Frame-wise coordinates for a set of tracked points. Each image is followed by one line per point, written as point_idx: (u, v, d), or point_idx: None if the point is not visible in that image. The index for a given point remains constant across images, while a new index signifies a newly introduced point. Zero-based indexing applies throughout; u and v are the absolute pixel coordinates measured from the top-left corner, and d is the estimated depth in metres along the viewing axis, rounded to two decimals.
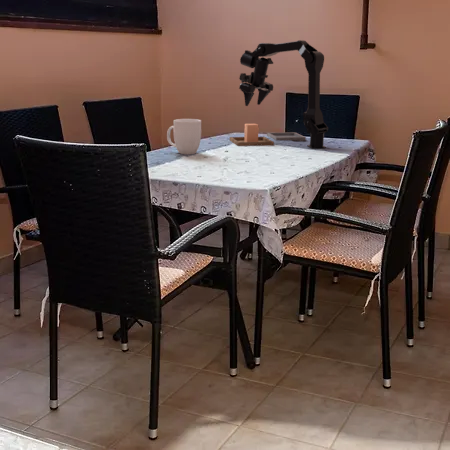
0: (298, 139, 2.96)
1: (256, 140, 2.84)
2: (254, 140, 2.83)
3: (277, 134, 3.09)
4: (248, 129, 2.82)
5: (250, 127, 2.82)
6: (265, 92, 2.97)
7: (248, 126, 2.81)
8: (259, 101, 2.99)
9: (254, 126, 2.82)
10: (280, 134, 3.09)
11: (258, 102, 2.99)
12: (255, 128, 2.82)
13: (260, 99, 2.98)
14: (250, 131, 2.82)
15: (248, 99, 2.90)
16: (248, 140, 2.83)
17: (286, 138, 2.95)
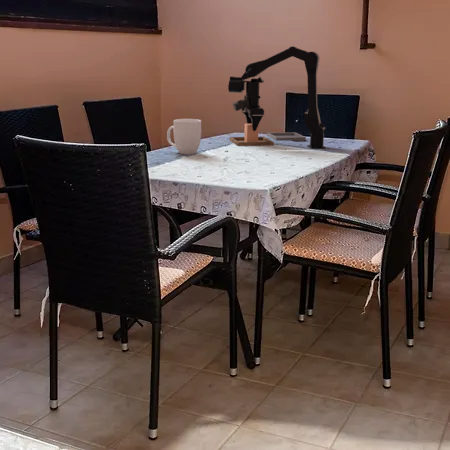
0: (298, 139, 2.96)
1: (256, 140, 2.84)
2: (254, 140, 2.83)
3: (277, 134, 3.09)
4: (248, 129, 2.82)
5: (250, 127, 2.82)
6: None
7: (248, 126, 2.81)
8: None
9: None
10: (280, 134, 3.09)
11: None
12: None
13: (251, 122, 2.88)
14: (250, 131, 2.82)
15: (257, 123, 2.78)
16: (248, 140, 2.83)
17: (286, 138, 2.95)
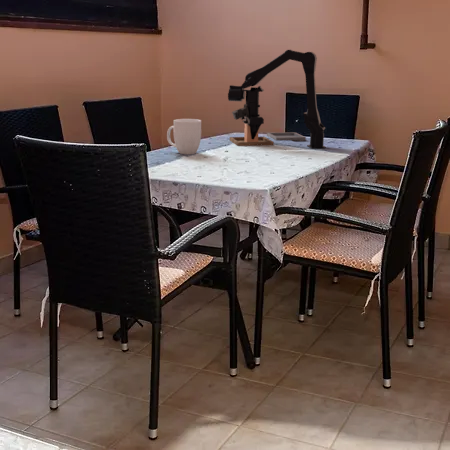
0: (298, 139, 2.96)
1: (256, 140, 2.84)
2: (254, 140, 2.83)
3: (277, 134, 3.09)
4: (248, 129, 2.82)
5: None
6: None
7: (248, 126, 2.81)
8: None
9: None
10: (280, 134, 3.09)
11: None
12: None
13: None
14: None
15: (256, 131, 2.81)
16: (248, 140, 2.83)
17: (286, 138, 2.95)
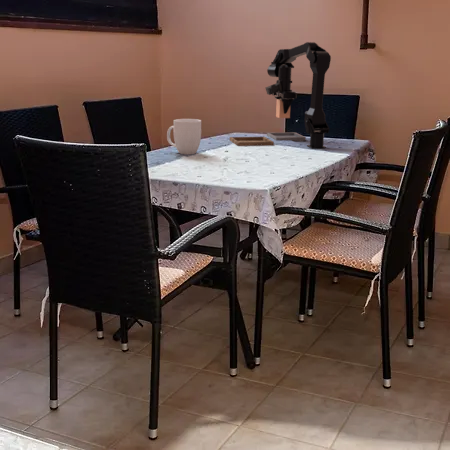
0: (298, 139, 2.96)
1: (288, 115, 2.96)
2: (286, 115, 2.96)
3: (277, 134, 3.09)
4: (281, 104, 2.94)
5: (282, 102, 2.94)
6: None
7: (281, 101, 2.94)
8: None
9: None
10: (280, 134, 3.09)
11: None
12: None
13: None
14: None
15: (288, 106, 2.94)
16: (280, 115, 2.96)
17: (286, 138, 2.95)
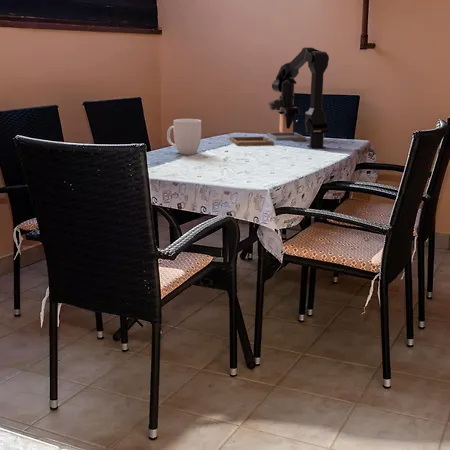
0: (298, 139, 2.96)
1: (291, 129, 3.00)
2: (289, 129, 3.00)
3: (277, 134, 3.09)
4: (284, 119, 2.98)
5: (285, 117, 2.98)
6: None
7: (284, 116, 2.98)
8: None
9: None
10: (280, 134, 3.09)
11: None
12: None
13: None
14: None
15: (291, 121, 2.97)
16: (283, 129, 2.99)
17: (286, 138, 2.95)
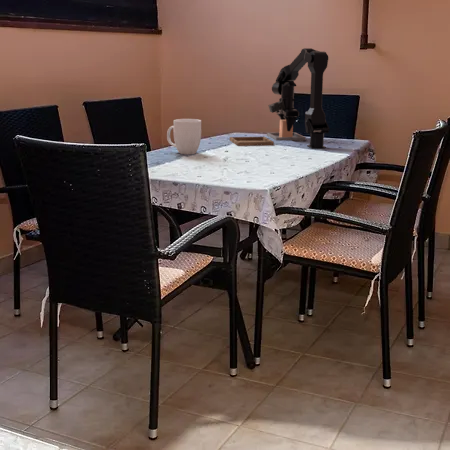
0: (298, 139, 2.96)
1: (291, 135, 3.01)
2: (289, 135, 3.00)
3: (277, 134, 3.09)
4: (283, 125, 2.99)
5: (285, 123, 2.99)
6: None
7: (283, 122, 2.98)
8: None
9: None
10: None
11: None
12: None
13: None
14: (285, 127, 2.99)
15: (292, 124, 2.97)
16: (283, 135, 3.00)
17: (286, 138, 2.95)
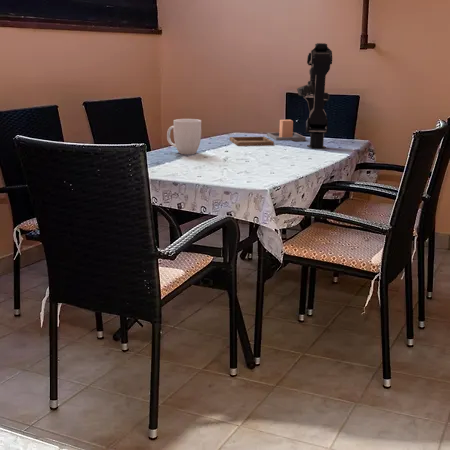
0: (298, 139, 2.96)
1: (291, 135, 3.01)
2: (289, 135, 3.00)
3: (277, 134, 3.09)
4: (283, 125, 2.99)
5: (285, 123, 2.99)
6: None
7: (283, 122, 2.98)
8: (312, 109, 3.02)
9: (289, 122, 2.99)
10: None
11: (311, 110, 3.02)
12: (290, 124, 2.99)
13: (312, 107, 3.02)
14: (285, 127, 2.99)
15: None
16: (283, 135, 3.00)
17: (286, 138, 2.95)
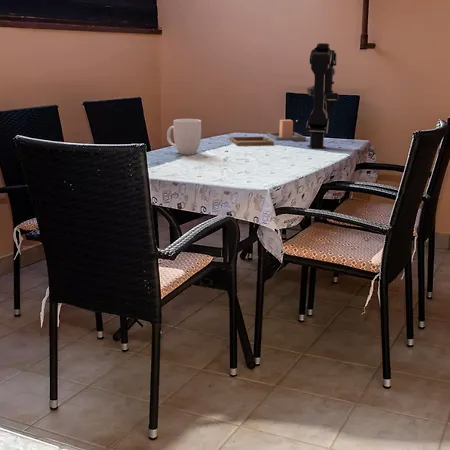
0: (298, 139, 2.96)
1: (291, 135, 3.01)
2: (289, 135, 3.00)
3: (277, 134, 3.09)
4: (283, 125, 2.99)
5: (285, 123, 2.99)
6: (325, 98, 3.01)
7: (283, 122, 2.98)
8: None
9: (289, 122, 2.99)
10: None
11: None
12: (290, 124, 2.99)
13: None
14: (285, 127, 2.99)
15: (331, 107, 2.91)
16: (283, 135, 3.00)
17: (286, 138, 2.95)
